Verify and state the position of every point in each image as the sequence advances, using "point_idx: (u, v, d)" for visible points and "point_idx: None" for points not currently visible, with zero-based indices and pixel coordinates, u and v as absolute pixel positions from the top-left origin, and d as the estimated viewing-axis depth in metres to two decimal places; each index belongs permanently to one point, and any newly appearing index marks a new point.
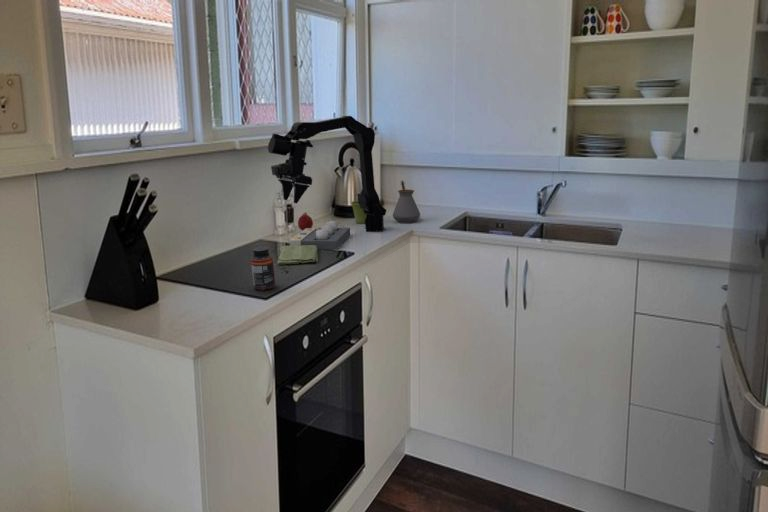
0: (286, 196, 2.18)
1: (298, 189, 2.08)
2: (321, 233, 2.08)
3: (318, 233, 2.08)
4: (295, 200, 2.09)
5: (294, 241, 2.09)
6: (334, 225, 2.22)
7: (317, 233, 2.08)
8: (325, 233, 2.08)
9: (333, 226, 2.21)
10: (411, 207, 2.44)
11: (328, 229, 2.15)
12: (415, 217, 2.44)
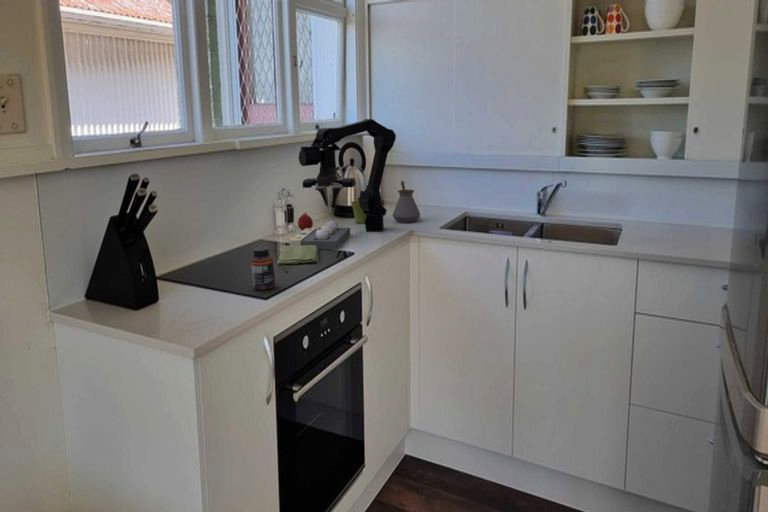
0: (327, 202, 2.21)
1: None
2: (321, 233, 2.08)
3: (318, 233, 2.08)
4: (334, 203, 2.20)
5: (294, 241, 2.09)
6: (334, 225, 2.22)
7: (317, 233, 2.08)
8: (325, 233, 2.08)
9: (333, 226, 2.21)
10: (411, 207, 2.44)
11: (328, 229, 2.15)
12: (415, 217, 2.44)
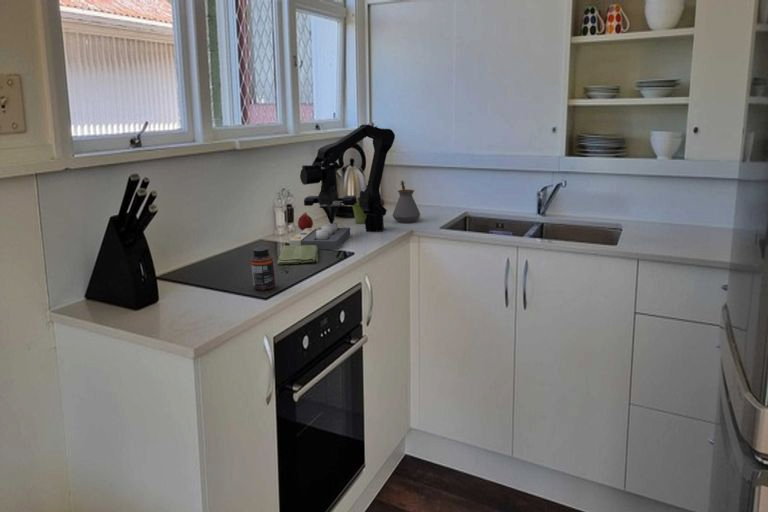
0: None
1: None
2: (321, 233, 2.08)
3: (318, 233, 2.08)
4: (333, 221, 2.22)
5: (294, 241, 2.09)
6: (334, 226, 2.22)
7: (317, 233, 2.08)
8: (325, 233, 2.08)
9: (333, 227, 2.22)
10: (411, 207, 2.44)
11: (328, 229, 2.15)
12: (415, 217, 2.44)
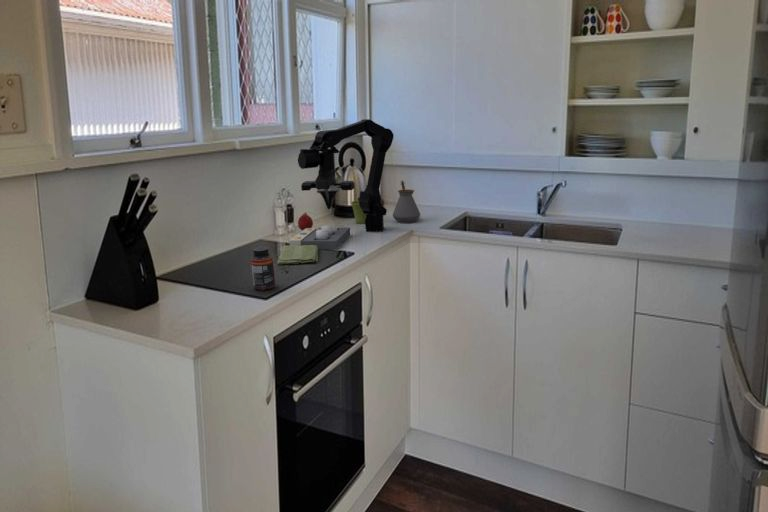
0: None
1: None
2: (321, 233, 2.08)
3: (318, 233, 2.08)
4: (330, 206, 2.19)
5: (294, 241, 2.09)
6: (334, 230, 2.22)
7: (317, 233, 2.08)
8: (325, 233, 2.08)
9: None
10: (411, 207, 2.44)
11: (328, 229, 2.15)
12: (415, 217, 2.44)
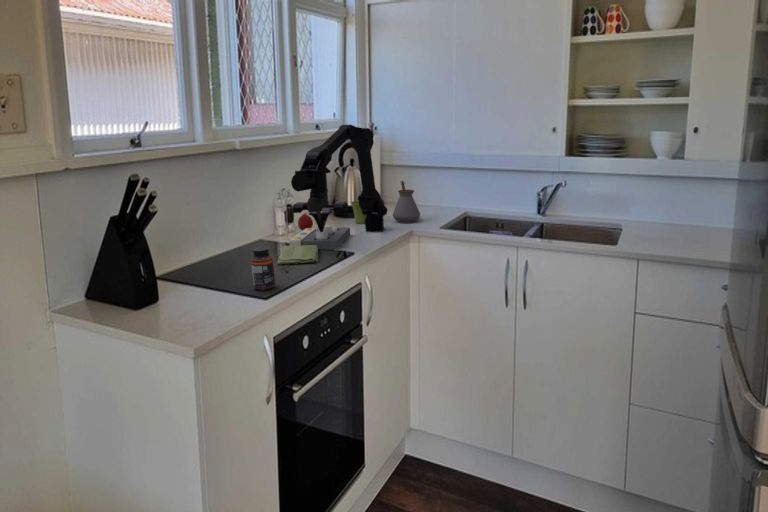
0: None
1: None
2: (321, 234, 2.08)
3: (318, 234, 2.08)
4: (323, 229, 2.09)
5: (294, 241, 2.09)
6: (334, 230, 2.22)
7: (317, 234, 2.08)
8: (325, 234, 2.09)
9: None
10: (411, 207, 2.44)
11: (328, 229, 2.15)
12: (415, 217, 2.44)
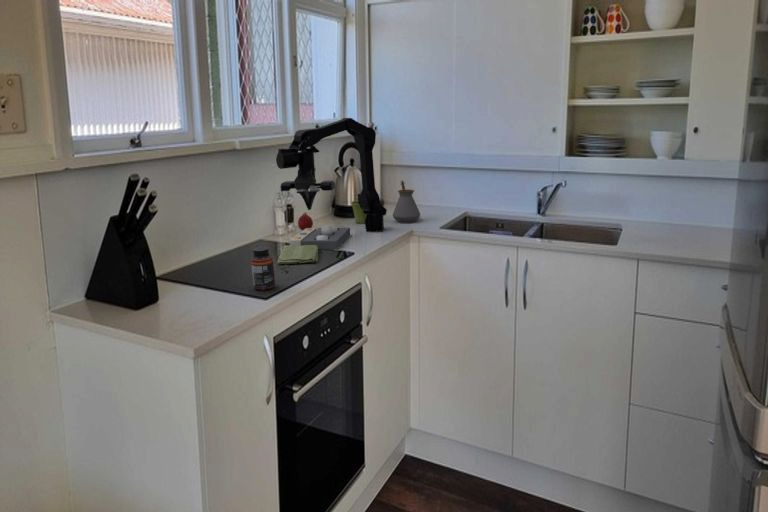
0: None
1: None
2: (321, 239, 2.08)
3: (318, 239, 2.09)
4: (310, 207, 2.15)
5: (294, 241, 2.09)
6: (334, 230, 2.22)
7: (317, 239, 2.09)
8: (325, 239, 2.09)
9: None
10: (411, 207, 2.44)
11: (328, 229, 2.15)
12: (415, 217, 2.44)
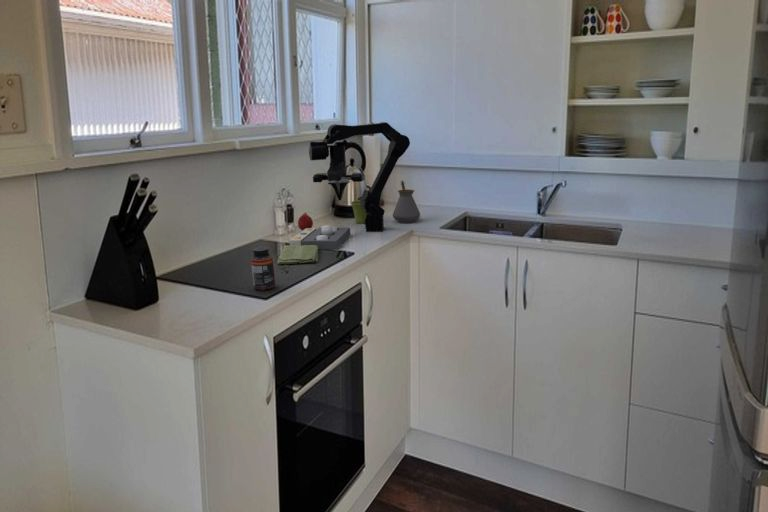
0: None
1: None
2: (321, 239, 2.08)
3: (318, 239, 2.09)
4: (341, 197, 2.27)
5: (294, 241, 2.09)
6: (334, 230, 2.22)
7: (317, 239, 2.09)
8: (325, 239, 2.09)
9: None
10: (411, 207, 2.44)
11: (328, 229, 2.15)
12: (415, 217, 2.44)
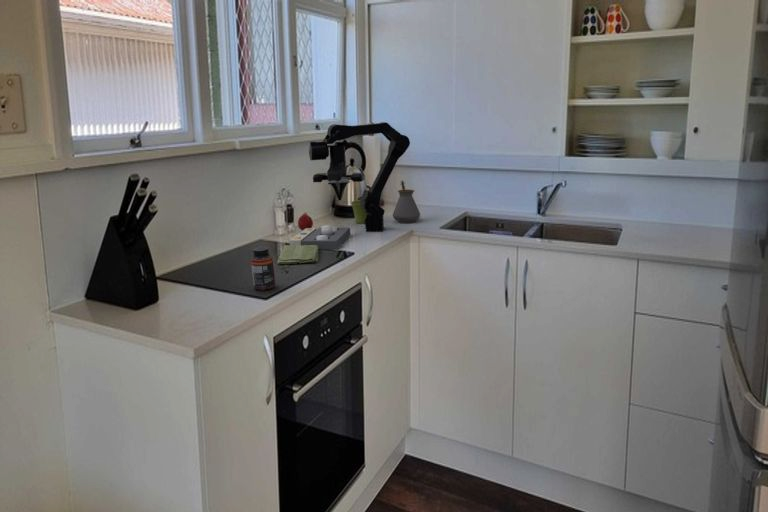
0: None
1: None
2: (321, 239, 2.08)
3: (318, 239, 2.09)
4: (341, 197, 2.27)
5: (294, 241, 2.09)
6: (334, 230, 2.22)
7: (317, 239, 2.09)
8: (325, 239, 2.09)
9: None
10: (411, 207, 2.44)
11: (328, 229, 2.15)
12: (415, 217, 2.44)
